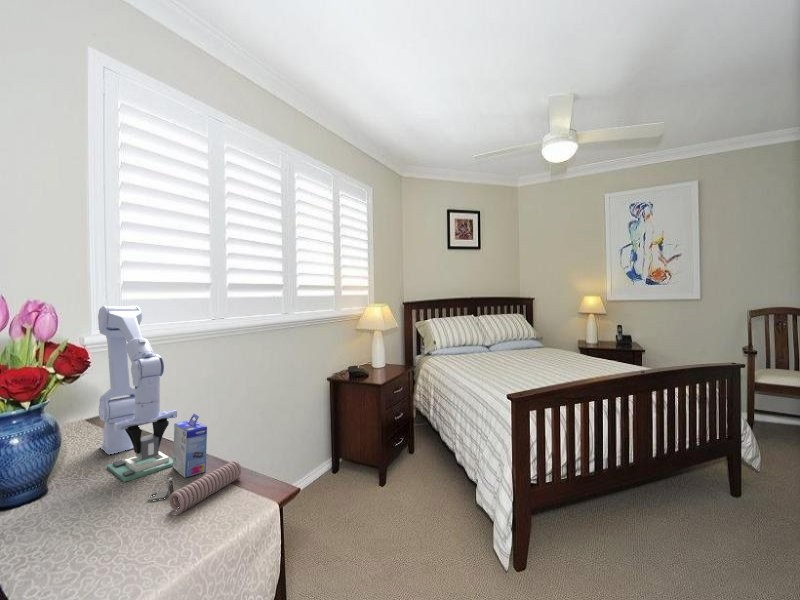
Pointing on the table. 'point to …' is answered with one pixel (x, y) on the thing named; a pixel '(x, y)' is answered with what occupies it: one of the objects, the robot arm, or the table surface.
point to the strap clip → (163, 492)
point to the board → (139, 466)
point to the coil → (204, 487)
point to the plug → (148, 447)
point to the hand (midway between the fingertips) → (147, 449)
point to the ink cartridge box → (190, 447)
